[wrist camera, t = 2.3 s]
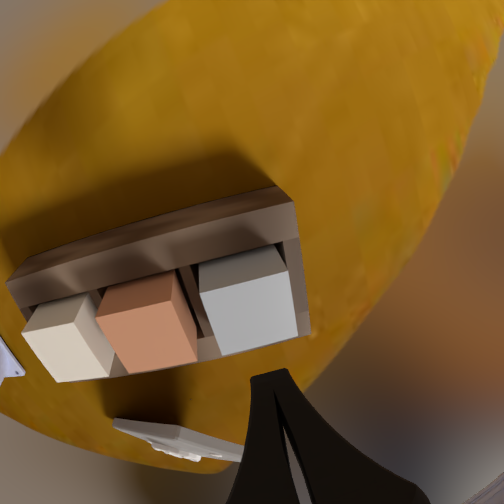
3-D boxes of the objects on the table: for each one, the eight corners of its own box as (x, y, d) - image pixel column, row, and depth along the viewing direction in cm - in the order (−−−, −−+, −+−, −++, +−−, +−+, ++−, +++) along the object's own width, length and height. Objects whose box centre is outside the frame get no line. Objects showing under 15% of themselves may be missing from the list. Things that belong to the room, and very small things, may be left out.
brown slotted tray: (80, 352, 21) (69, 382, 18) (27, 257, 17) (5, 282, 14) (296, 303, 22) (311, 333, 19) (277, 185, 18) (293, 201, 15)
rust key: (135, 339, 18) (129, 373, 15) (108, 286, 16) (94, 317, 14) (196, 327, 18) (197, 361, 16) (174, 269, 16) (170, 300, 14)
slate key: (218, 321, 18) (222, 355, 16) (198, 263, 16) (199, 293, 14) (284, 304, 19) (297, 336, 16) (273, 244, 17) (288, 270, 14)
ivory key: (68, 351, 18) (57, 382, 15) (39, 304, 16) (21, 333, 13) (117, 343, 18) (109, 376, 15) (88, 291, 16) (73, 322, 13)
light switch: (108, 433, 24) (170, 452, 15) (124, 385, 28) (192, 371, 19) (177, 458, 28) (268, 474, 19) (189, 413, 32) (279, 408, 23)
